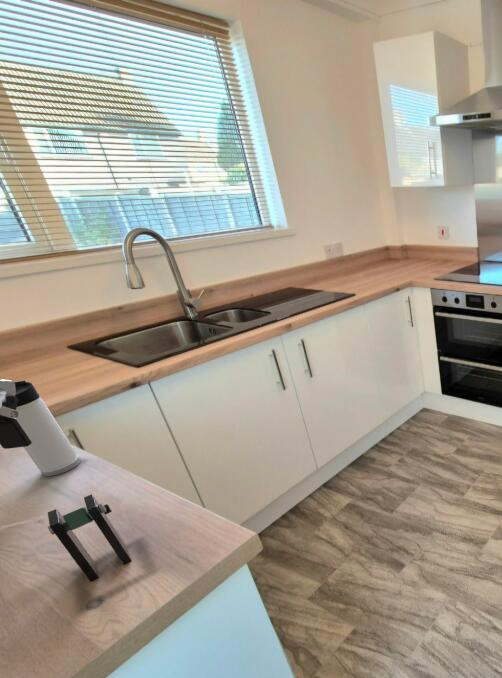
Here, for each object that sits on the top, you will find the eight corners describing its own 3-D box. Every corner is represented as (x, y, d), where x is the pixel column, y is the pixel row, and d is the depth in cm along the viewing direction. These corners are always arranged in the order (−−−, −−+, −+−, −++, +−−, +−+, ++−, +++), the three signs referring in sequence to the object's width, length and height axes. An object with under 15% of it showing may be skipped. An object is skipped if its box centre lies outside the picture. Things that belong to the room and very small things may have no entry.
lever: (71, 532, 70) (63, 520, 70) (113, 513, 74) (106, 501, 74) (55, 537, 60) (46, 522, 60) (105, 515, 64) (97, 501, 64)
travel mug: (87, 455, 98) (39, 377, 89) (72, 471, 93) (19, 390, 84) (53, 462, 96) (0, 383, 88) (36, 479, 91) (-22, 397, 82)
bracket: (76, 569, 68) (32, 509, 63) (138, 539, 74) (102, 481, 68) (84, 606, 62) (35, 543, 57) (151, 570, 67) (112, 509, 62)
